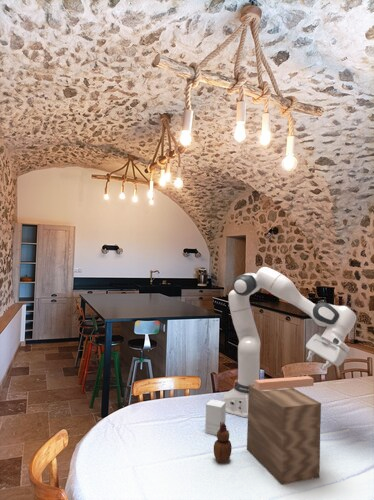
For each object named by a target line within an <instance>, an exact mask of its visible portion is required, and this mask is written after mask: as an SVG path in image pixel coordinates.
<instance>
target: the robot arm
mask: <svg viewBox="0 0 374 500" xmlns="http://www.w3.org/2000/svg"><path fill="white" fill-rule="evenodd" d="M262 289H264V290H265V291H267V292H269V293H270V294H271V295H273V296H275V297H277V298H279V299H280V300H283V301H285V302H287V303H289V304H291V305H293V306H294V307H296V308H298V309H299V310H300V311H301V312H304V313H305V314H306V315H308V316H309V317H310V318H311V320H312V321H313V323H314V324H315V325H316V326H317V327H319V328H322V329H325V330H324V332H323V333H322V334H321V333H320V332H317V333H315V334H314V335H313V336H312V337H310V339H309V340H308V341H307V343H306V344H305V348H306V349H307V350H309V351H308V356H307V358H306V361H308V362H309V363H311V362H313V356H314V355H317V356H318V357H320V358H322V359H324V360H326V361H325V363H324V364H321V366H320V367H319V368H320V369H321V370H322V371H324V372H326V370H327V369H328V368H330V367H331V366H332V365H335V366H336V367H340V366H341V365H342V364H343V363H344V361H345V359H346V357H347V353H349V352H350V350H351V348H350V347H349V346H347V344H346V343H345V342H344V341H345V340H346V337H347V335H348V334H349V333H350V332H351V331H352V329H353V327H354V326H355V324H356V322H357V317H358V316H357V314H356V312H354V310H353V309H352V308H350V307H349V306H347V305H335V304H331V303H327V302H324V301H323V302H322V301H321V302H318V303H313V302H312V301H311V300H309V299H308V298H306V297H305V296H304V295H302V294H301V293H300V292H299V290H298V288H297V287H296V285H295V284H294V282H293V281H292V280H291V279H289V278H288V277H287V276H286V275H284V274H282V273H281V272H279V271H277V270H275V269H273V268H270V267H267V266H262V267H261V268H259V269H258V270H257V272H253V271H252V272H247V273H244V274H240V275H237V276H236V278H234V280H233V282H232V290H230V292H229V293H228V306H229V310H230V311H229V312H230V315H231V316H230V317H231V319H232V324H233V326H234V330H235V332H236V335H237V339H238V345H237V364H238V365H237V368H238V369H237V371H238V372H237V379H235V380H234V383H233V388H232V389H230V390H229V391H227V392H225V394H224V396H223V398H222V401H223V402H226V413H227V414H232V415H235V416H238V417H242V418H248V396H249V385H252V384H254V382H255V380H260V371H261V370H260V364H261V363H260V357H261V354H260V353H261V339H260V335H259V332H258V328H257V325H256V322H255V319H254V314H253V311H252V307H251V303H250V296H252V295H255V294H256V293H258V292H259V291H260V290H262Z"/></svg>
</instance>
